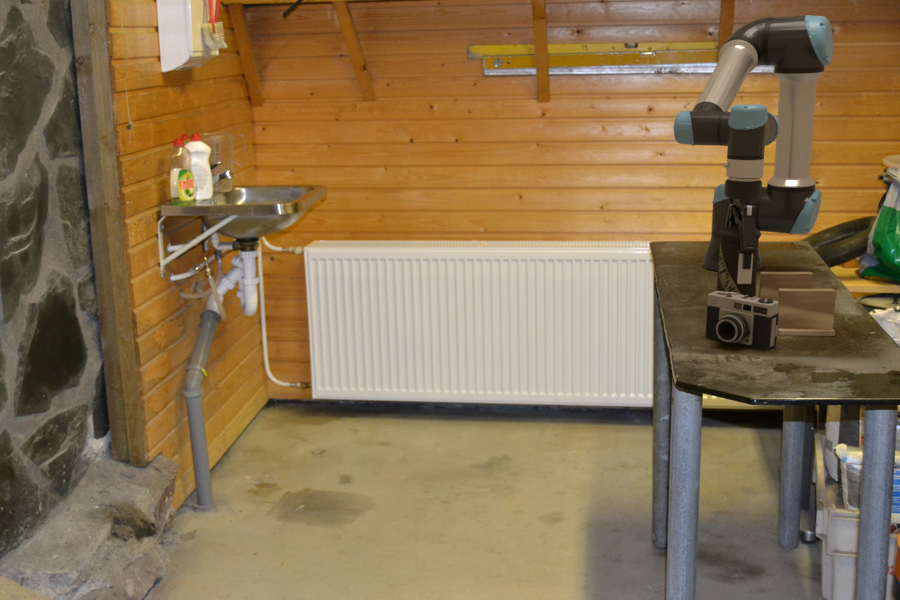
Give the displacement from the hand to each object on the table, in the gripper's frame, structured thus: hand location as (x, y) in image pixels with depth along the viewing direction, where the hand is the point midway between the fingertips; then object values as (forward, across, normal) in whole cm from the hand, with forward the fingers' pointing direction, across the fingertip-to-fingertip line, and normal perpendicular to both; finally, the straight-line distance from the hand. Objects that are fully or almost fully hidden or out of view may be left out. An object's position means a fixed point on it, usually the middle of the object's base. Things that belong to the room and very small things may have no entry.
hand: (736, 276), depth 194 cm
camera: (+10, +19, -4) cm, 22 cm away
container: (+9, 0, 0) cm, 9 cm away
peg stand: (+9, +4, +12) cm, 15 cm away
